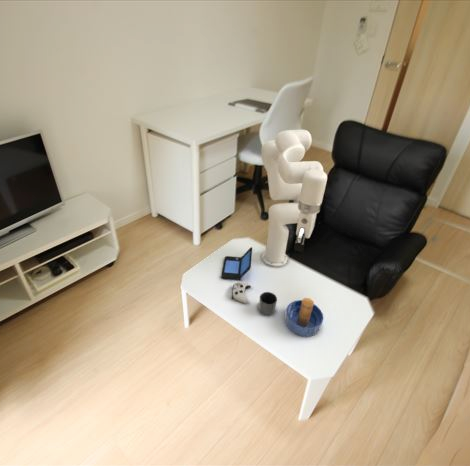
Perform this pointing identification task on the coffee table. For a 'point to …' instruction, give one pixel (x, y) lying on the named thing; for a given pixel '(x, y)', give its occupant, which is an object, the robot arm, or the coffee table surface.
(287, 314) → the bowl
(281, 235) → the robot arm
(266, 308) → the cup
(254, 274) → the coffee table surface
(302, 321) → the dowel
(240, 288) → the gaming controller
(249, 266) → the game console
